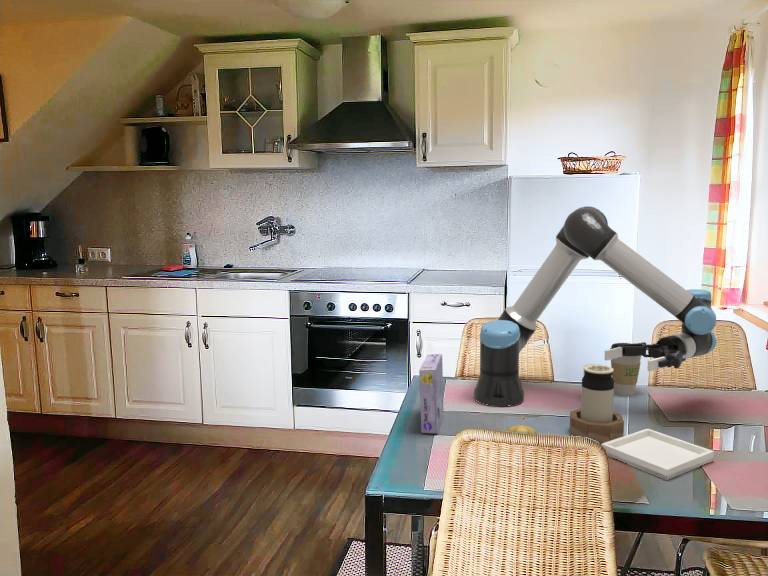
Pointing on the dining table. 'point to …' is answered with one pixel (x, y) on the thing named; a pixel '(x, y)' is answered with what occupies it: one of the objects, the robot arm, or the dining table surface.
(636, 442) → the tray
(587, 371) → the travel mug
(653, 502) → the dining table surface
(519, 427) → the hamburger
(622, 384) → the coffee cup
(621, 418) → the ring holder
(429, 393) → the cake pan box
